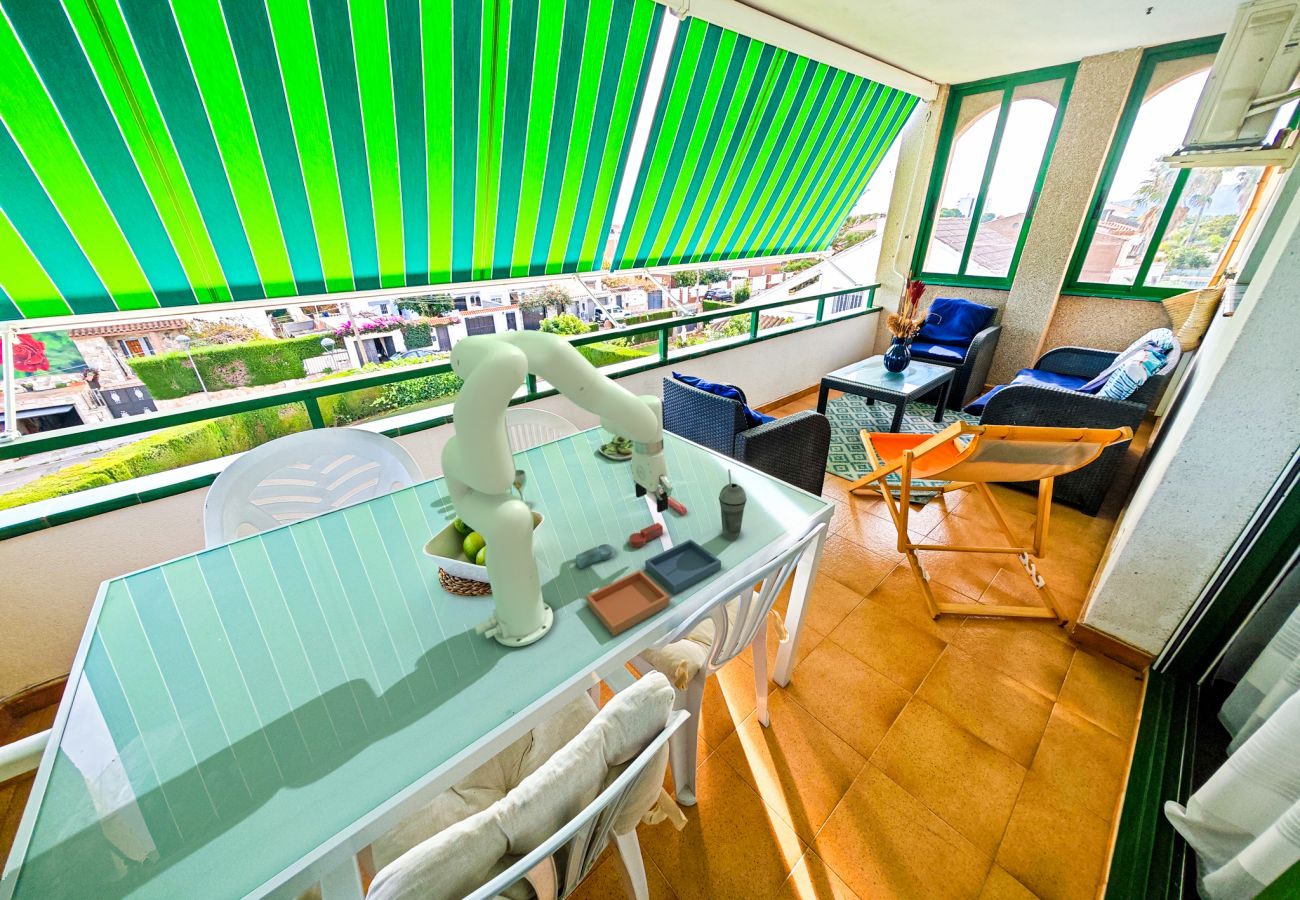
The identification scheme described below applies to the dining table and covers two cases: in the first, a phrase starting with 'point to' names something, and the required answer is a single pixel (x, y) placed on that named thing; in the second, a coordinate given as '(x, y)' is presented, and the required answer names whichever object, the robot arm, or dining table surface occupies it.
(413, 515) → the dining table surface
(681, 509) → the red bar
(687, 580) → the slate tray
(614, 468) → the dining table surface
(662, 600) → the terracotta tray
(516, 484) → the goblet set
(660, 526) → the red spoon
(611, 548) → the blue-grey rounded block
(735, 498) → the beverage cup
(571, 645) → the dining table surface
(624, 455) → the salad plate
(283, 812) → the dining table surface
